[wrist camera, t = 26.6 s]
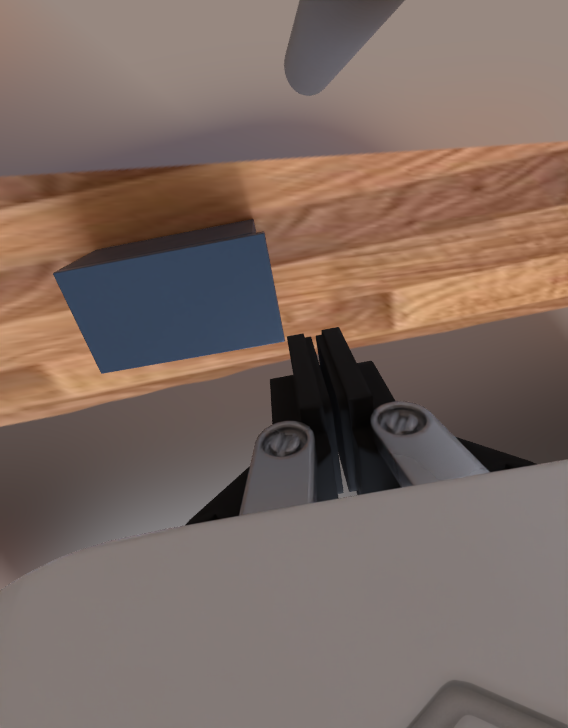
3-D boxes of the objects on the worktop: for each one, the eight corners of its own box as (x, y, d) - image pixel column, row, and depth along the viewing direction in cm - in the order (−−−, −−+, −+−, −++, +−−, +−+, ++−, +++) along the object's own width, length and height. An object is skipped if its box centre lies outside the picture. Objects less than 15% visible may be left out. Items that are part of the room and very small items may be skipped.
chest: (253, 218, 35) (252, 232, 28) (271, 307, 39) (274, 337, 33) (95, 249, 35) (57, 270, 29) (130, 333, 40) (105, 369, 33)
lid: (264, 231, 28) (264, 232, 27) (284, 337, 32) (284, 341, 31) (57, 270, 29) (52, 273, 28) (104, 369, 33) (101, 373, 32)
